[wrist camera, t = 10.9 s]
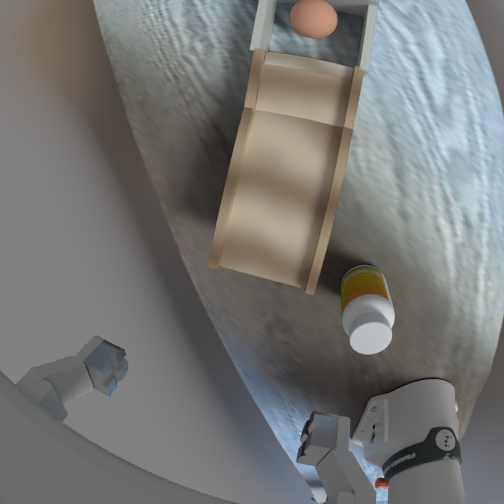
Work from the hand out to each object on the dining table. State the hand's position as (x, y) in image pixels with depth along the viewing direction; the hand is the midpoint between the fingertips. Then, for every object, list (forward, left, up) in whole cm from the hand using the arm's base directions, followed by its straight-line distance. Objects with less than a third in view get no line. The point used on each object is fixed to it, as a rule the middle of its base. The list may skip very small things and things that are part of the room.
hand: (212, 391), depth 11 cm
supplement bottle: (-6, -10, -23) cm, 26 cm away
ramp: (+6, +1, -23) cm, 24 cm away
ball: (+21, +1, -21) cm, 29 cm away
